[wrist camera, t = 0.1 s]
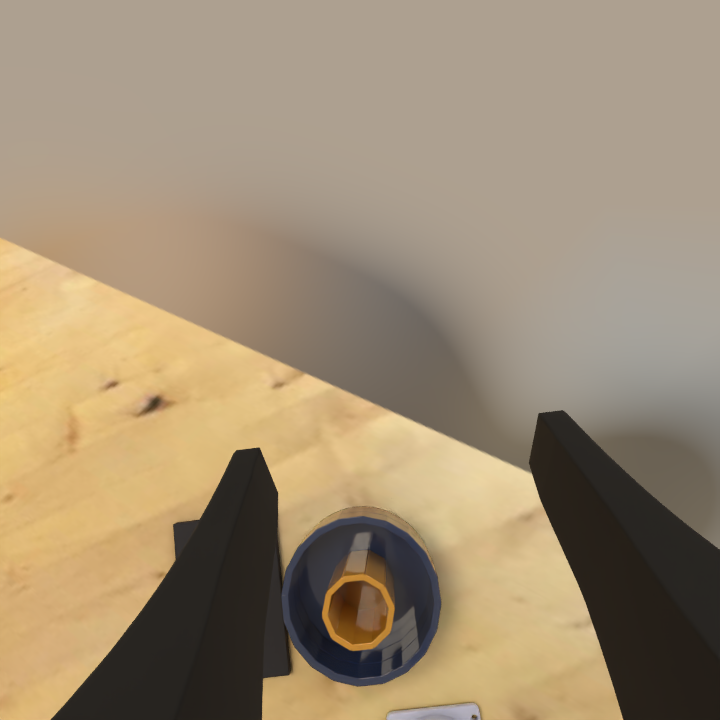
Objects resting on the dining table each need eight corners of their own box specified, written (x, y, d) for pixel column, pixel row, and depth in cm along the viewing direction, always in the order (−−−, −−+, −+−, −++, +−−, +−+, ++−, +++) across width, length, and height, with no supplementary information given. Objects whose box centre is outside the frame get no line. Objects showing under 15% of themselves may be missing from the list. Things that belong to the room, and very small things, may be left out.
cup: (397, 608, 41) (399, 646, 34) (336, 615, 41) (326, 654, 34) (389, 546, 42) (389, 570, 35) (329, 554, 42) (317, 579, 35)
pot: (444, 646, 41) (452, 676, 36) (302, 662, 41) (290, 694, 37) (422, 498, 43) (427, 507, 38) (287, 515, 43) (274, 526, 38)
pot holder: (291, 670, 41) (289, 675, 41) (187, 682, 42) (184, 687, 41) (275, 510, 43) (272, 511, 43) (176, 522, 44) (173, 524, 43)
